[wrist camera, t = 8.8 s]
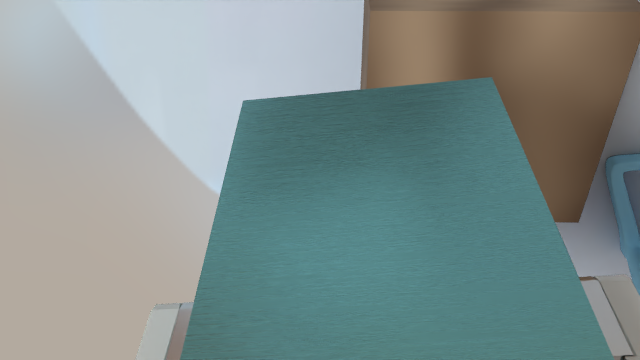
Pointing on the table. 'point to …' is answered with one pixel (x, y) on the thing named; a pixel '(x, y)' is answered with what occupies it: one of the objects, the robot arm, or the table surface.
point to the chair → (625, 210)
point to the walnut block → (519, 71)
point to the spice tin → (386, 236)
